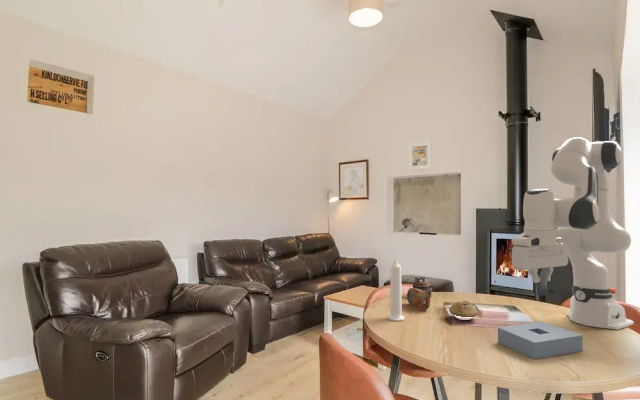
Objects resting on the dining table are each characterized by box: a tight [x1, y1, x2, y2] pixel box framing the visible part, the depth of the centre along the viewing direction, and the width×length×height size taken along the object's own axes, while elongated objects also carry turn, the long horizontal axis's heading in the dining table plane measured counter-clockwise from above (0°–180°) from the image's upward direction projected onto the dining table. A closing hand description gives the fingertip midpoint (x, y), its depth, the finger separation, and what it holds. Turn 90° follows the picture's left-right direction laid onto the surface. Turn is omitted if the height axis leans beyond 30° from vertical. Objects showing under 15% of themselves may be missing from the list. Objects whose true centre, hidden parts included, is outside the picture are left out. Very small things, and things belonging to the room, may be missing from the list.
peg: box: [535, 268, 548, 297], centre depth 110 cm, size 3×3×10 cm
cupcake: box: [412, 277, 433, 299], centre depth 177 cm, size 10×10×10 cm
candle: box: [387, 257, 406, 322], centre depth 142 cm, size 7×7×25 cm
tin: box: [406, 287, 431, 311], centre depth 158 cm, size 15×3×8 cm, turn 17°
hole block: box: [497, 321, 584, 360], centre depth 113 cm, size 20×14×5 cm
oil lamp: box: [448, 300, 479, 318], centre depth 143 cm, size 11×15×8 cm
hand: (541, 281), depth 110 cm, fingers closed on peg, 3 cm apart
